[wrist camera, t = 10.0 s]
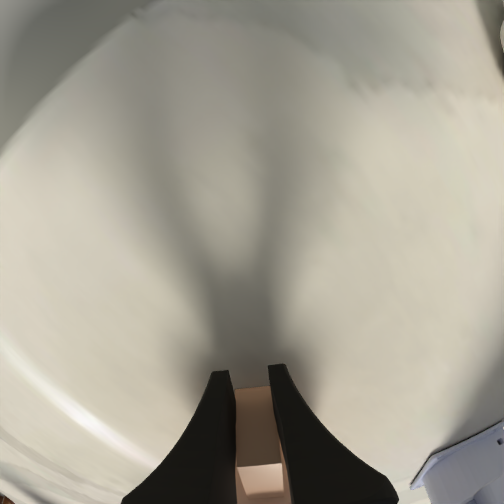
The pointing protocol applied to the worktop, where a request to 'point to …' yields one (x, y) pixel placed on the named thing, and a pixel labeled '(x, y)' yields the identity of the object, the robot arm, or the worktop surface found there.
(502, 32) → the white tied sack
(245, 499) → the cylinder with bar handle
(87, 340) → the worktop surface
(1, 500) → the food container
